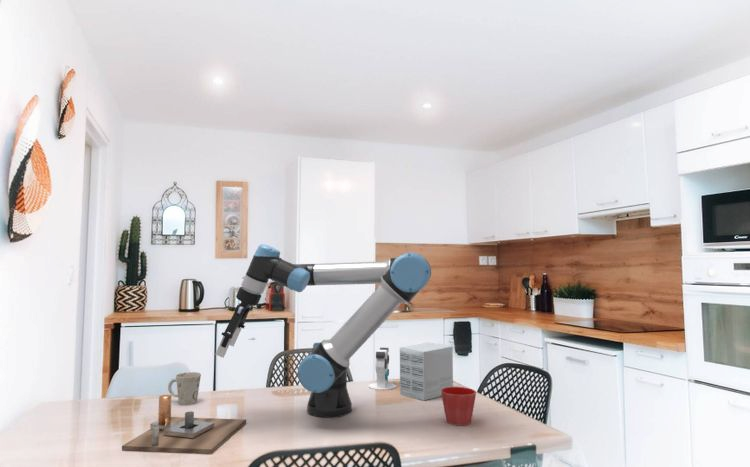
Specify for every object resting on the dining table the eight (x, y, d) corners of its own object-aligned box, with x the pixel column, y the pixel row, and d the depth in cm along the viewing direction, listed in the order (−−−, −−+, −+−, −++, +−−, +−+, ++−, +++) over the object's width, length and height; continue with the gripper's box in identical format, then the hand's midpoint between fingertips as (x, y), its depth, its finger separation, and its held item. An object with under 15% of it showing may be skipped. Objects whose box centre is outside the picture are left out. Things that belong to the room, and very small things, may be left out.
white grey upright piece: (393, 391, 191) (393, 352, 192) (365, 389, 193) (365, 351, 194) (397, 383, 203) (397, 347, 204) (371, 382, 205) (371, 346, 206)
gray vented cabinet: (428, 386, 198) (427, 342, 200) (454, 393, 189) (453, 346, 190) (398, 394, 187) (398, 346, 188) (424, 401, 177) (424, 351, 178)
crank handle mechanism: (214, 426, 144) (214, 395, 145) (192, 438, 135) (193, 404, 136) (164, 421, 149) (165, 391, 150) (140, 432, 140) (141, 399, 140)
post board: (246, 423, 152) (246, 401, 153) (211, 454, 127) (212, 428, 128) (170, 420, 155) (170, 399, 155) (121, 450, 130) (122, 425, 130)
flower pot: (454, 414, 161) (454, 384, 162) (482, 421, 154) (482, 390, 154) (434, 421, 154) (434, 390, 155) (463, 429, 146) (462, 396, 147)
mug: (191, 406, 170) (192, 377, 171) (159, 404, 173) (160, 376, 173) (204, 400, 178) (205, 372, 179) (174, 398, 181) (174, 371, 182)
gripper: (248, 281, 170) (223, 336, 170) (231, 291, 145) (202, 356, 145) (268, 289, 171) (243, 344, 171) (254, 301, 146) (226, 365, 146)
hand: (224, 350), depth 158 cm, fingers open, 13 cm apart
